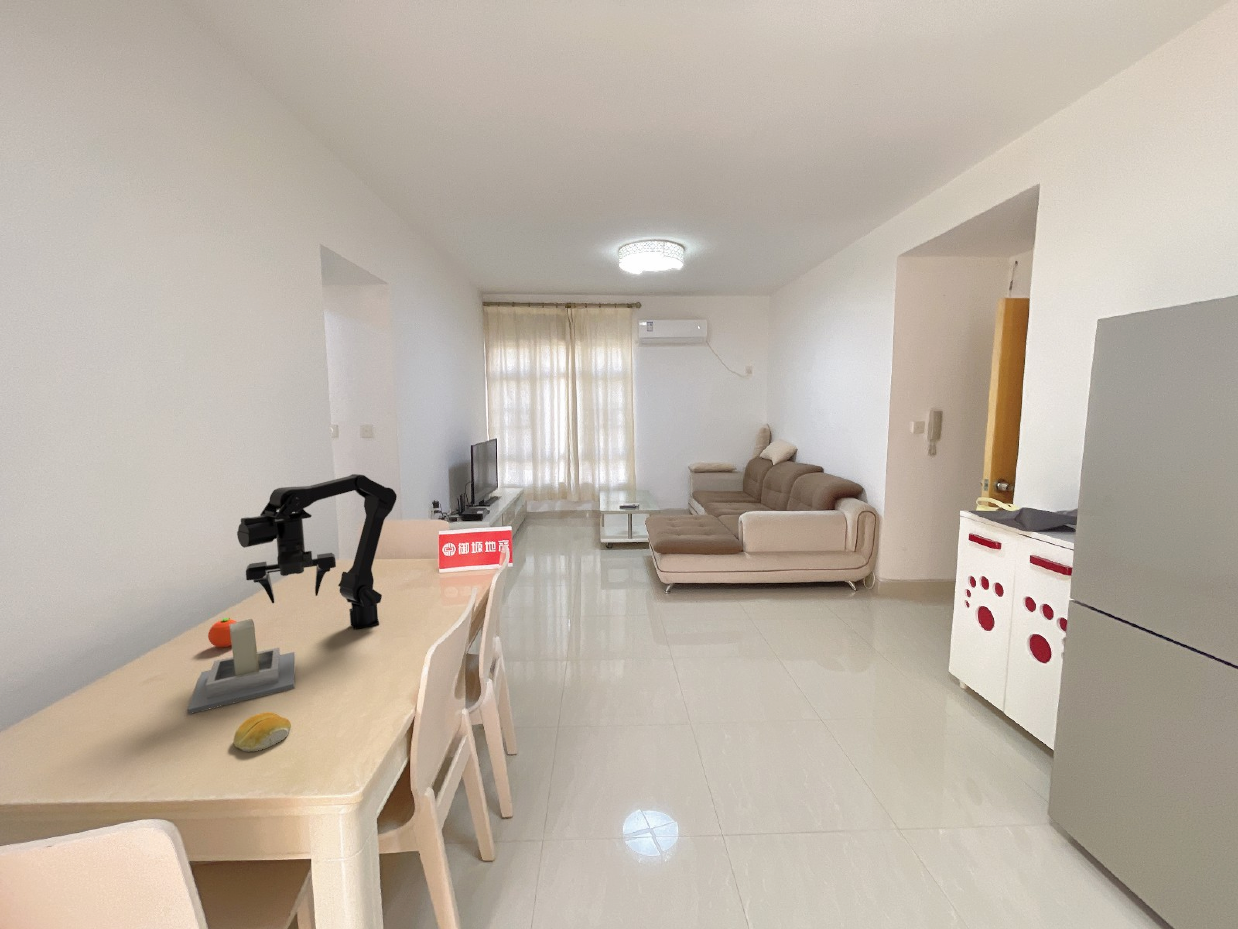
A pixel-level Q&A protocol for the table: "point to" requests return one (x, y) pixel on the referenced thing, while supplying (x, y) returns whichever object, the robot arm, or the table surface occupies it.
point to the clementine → (221, 633)
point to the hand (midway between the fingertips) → (295, 599)
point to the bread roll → (261, 731)
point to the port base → (285, 683)
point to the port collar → (244, 681)
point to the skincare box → (244, 647)
